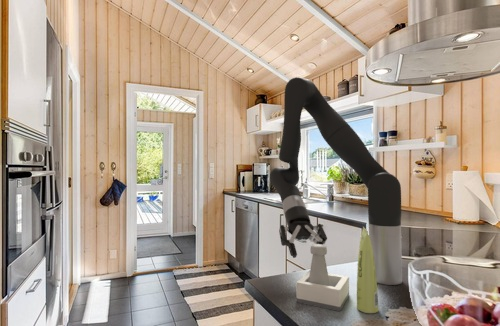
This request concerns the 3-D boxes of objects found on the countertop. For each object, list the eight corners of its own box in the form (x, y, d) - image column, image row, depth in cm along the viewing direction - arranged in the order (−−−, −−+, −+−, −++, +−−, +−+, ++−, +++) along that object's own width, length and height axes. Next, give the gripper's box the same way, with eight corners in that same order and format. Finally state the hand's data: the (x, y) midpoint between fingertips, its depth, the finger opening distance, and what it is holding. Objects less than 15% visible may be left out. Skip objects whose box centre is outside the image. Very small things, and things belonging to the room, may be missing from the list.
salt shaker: (314, 288, 85) (313, 241, 85) (333, 293, 81) (333, 244, 82) (304, 295, 80) (303, 245, 80) (324, 300, 76) (324, 248, 77)
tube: (350, 306, 75) (349, 227, 76) (364, 302, 78) (363, 225, 78) (368, 316, 70) (367, 231, 71) (383, 311, 73) (382, 229, 73)
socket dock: (309, 288, 88) (309, 270, 88) (349, 295, 82) (348, 276, 83) (296, 302, 78) (296, 282, 78) (340, 311, 73) (339, 290, 73)
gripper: (277, 205, 98) (288, 250, 86) (318, 204, 101) (335, 247, 89) (272, 219, 103) (283, 263, 91) (312, 218, 106) (327, 260, 94)
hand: (308, 255), depth 90 cm, fingers open, 8 cm apart
